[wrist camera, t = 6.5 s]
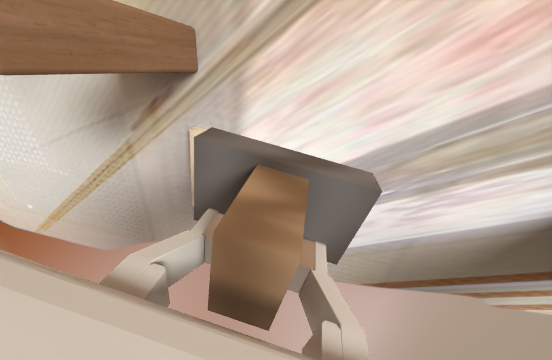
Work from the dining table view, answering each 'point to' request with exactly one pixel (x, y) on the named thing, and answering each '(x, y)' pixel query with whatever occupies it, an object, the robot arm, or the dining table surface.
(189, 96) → the dining table surface
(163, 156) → the dining table surface
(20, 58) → the wooden block
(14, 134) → the dining table surface
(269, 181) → the block
